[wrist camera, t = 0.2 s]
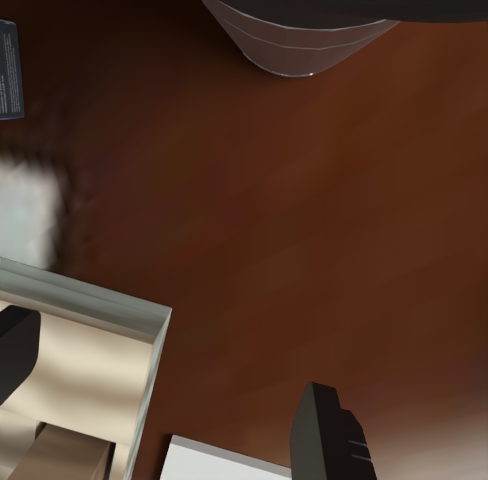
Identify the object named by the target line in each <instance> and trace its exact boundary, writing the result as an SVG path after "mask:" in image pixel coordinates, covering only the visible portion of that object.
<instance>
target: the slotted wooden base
mask: <svg viewBox="0 0 488 480" xmlns="http://www.w3.org/2000/svg"><path fill="white" fill-rule="evenodd" d="M9 305H17V306H21V307H25V308H29V309H33V310H37V311H39V312H40V313H41V328H40V341H39V354H38V359H37V362H36V365H35V367H34V369H33V371H32V372H31V374H30V375H29V376H28V378H27V379H26V380H25V381H24V382H23V383H22V384H21V385H20V386H19V387H18V388H17V389H16V390H15V391H14V392H13V393H12V394H11V396H10V397H9V398H8V399H7V400H6V401H5V402H4V403H3V404H2V405H1V406H0V480H7V479H8V477H9V476H10V475H11V473H12V472H13V470H14V469H15V468H16V466H17V465H18V464H19V462H20V461H21V459H22V458H23V457H24V455H25V454H26V452H27V451H28V450H29V448H30V447H31V446H32V444H33V443H34V441H35V440H36V439H37V437H38V436H39V435H40V433H41V432H42V430H43V429H44V428H45V426H46V425H47V423H50V424H53V425H56V426H60V427H63V428H67V429H70V430H74V431H77V432H81V433H84V434H87V435H91V436H94V437H98V438H101V439H105V440H108V441H111V442H115V443H116V448H115V453H114V458H113V460H112V462H111V464H110V466H109V468H108V470H107V473H106V475H105V477H104V479H103V480H131V476H132V472H133V468H134V464H135V460H136V456H137V452H138V447H139V443H140V439H141V435H142V431H143V427H144V423H145V418H146V414H147V410H148V406H149V402H150V398H151V393H152V389H153V385H154V381H155V377H156V373H157V369H158V364H159V360H160V356H161V352H162V348H163V344H164V340H165V335H166V331H167V327H168V323H169V319H170V315H171V311H172V308H170V307H167V306H163V305H160V304H156V303H153V302H150V301H146V300H143V299H140V298H136V297H133V296H129V295H126V294H123V293H119V292H116V291H112V290H109V289H106V288H102V287H99V286H96V285H92V284H89V283H85V282H82V281H79V280H75V279H72V278H68V277H65V276H62V275H58V274H55V273H52V272H48V271H45V270H41V269H38V268H35V267H31V266H28V265H24V264H21V263H18V262H14V261H11V260H7V259H4V258H1V257H0V311H2V310H3V309H4V308H6V307H7V306H9Z"/></svg>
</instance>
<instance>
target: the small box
mask: <svg viewBox="0 0 488 480" xmlns="http://www.w3.org/2000/svg"><path fill="white" fill-rule="evenodd" d="M23 117H24V101H23V89H22V77H21V67H20V56H19V44H18V34H17V26H16V24H15V23H14V22H11V21H6V20H1V19H0V120H6V119H17V118H23Z"/></svg>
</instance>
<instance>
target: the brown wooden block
mask: <svg viewBox="0 0 488 480" xmlns="http://www.w3.org/2000/svg"><path fill="white" fill-rule="evenodd" d="M115 448H116V443H115V442H111V441H108V440H105V439H101V438H98V437H94V436H91V435H87V434H84V433H81V432H77V431H74V430H70V429H67V428H63V427H60V426H56V425H53V424H50V423H47V425H46V426H45V428H44V429H43V430H42V432H41V433H40V435H39V436H38V437H37V439H36V440H35V441H34V443H33V444H32V446H31V447H30V448H29V450H28V451H27V452H26V454H25V455H24V457H23V458H22V459H21V461H20V462H19V464H18V465H17V466H16V468H15V469H14V470H13V472H12V473H11V475H10V476H9V477H8V479H7V480H103V479H104V477H105V475H106V473H107V470H108V468H109V466H110V464H111V462H112V460H113V458H114V453H115Z"/></svg>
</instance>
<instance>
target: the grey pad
mask: <svg viewBox="0 0 488 480" xmlns="http://www.w3.org/2000/svg"><path fill="white" fill-rule="evenodd" d="M160 480H292V477H291V469H290V468H287V467H283V466H280V465H276V464H273V463H269V462H266V461H263V460H259V459H256V458H252V457H249V456H245V455H242V454H239V453H235V452H232V451H228V450H225V449H221V448H218V447H215V446H211V445H208V444H204V443H201V442H197V441H194V440H191V439H187V438H184V437H180V436H177V435H173V436H172V439H171V443H170V446H169V449H168V453H167V456H166V460H165V463H164V467H163V470H162V474H161V477H160Z"/></svg>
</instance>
